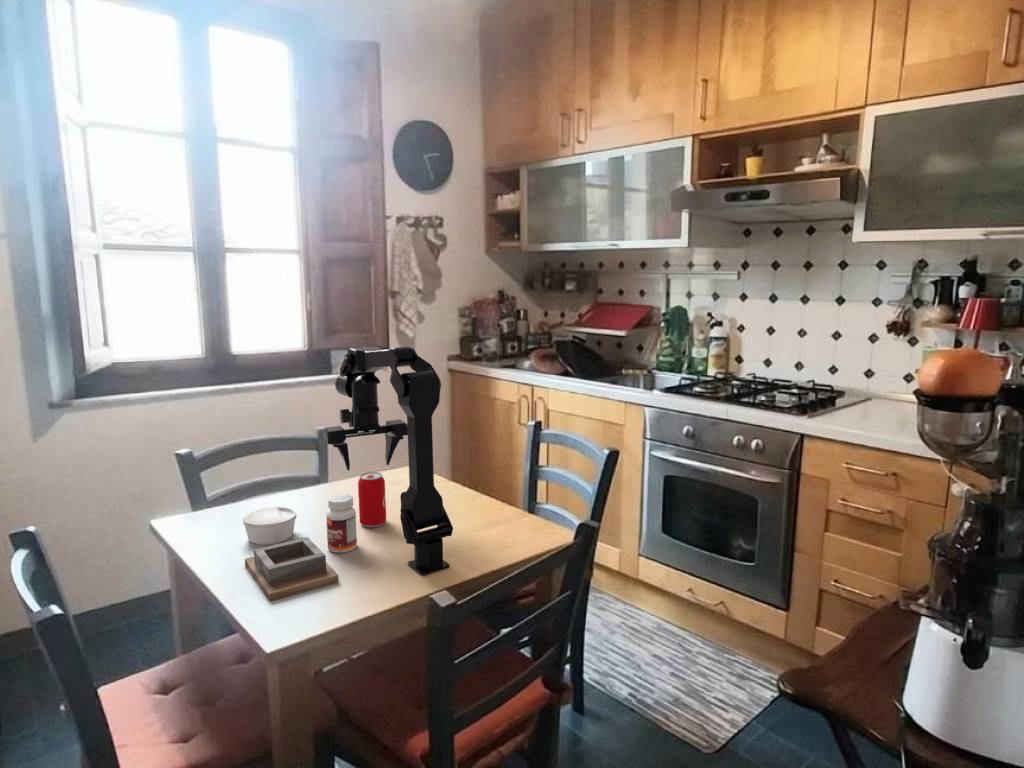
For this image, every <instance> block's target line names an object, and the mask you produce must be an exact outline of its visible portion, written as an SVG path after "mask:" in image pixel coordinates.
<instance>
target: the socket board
mask: <svg viewBox="0 0 1024 768" xmlns="http://www.w3.org/2000/svg"><path fill="white" fill-rule="evenodd" d="M244 566H245V568H246V569H247V571H248V572H249V573H250V575H251V576H252V578H253V579H254V582H256V584H257V585H258V587H259V588H260V590H261V591H262V593H263V594H264V596H265V597H266V598H267V600H268V601H269V602H273V601H277V600H280V599H284V598H288V597H291V596H294V595H298V594H301V593H304V592H309V591H312V590H315V589H319V588H320V589H321V588H322V587H323V588H324V587H327V586H330V585H334V584H336V583H339V582H340V580H339V574H338V573H337V572H336V571H335V570H334V569H333V568H332V566H330V565H329V564H328V562H327V558H326V554H325V553H324V552H323V551H322V550H321V549H320V548H319V547H318V546H317V545H316V544H315V543H314V542H313V541H312V540H311V539H310V538H309V537H308V536H306V537H303V538H298V539H294V540H290V541H284V542H280V543H277V544H271V545H266V546H264V547H259V548H256V549H253V556H251V557H247V558H244Z"/></svg>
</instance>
